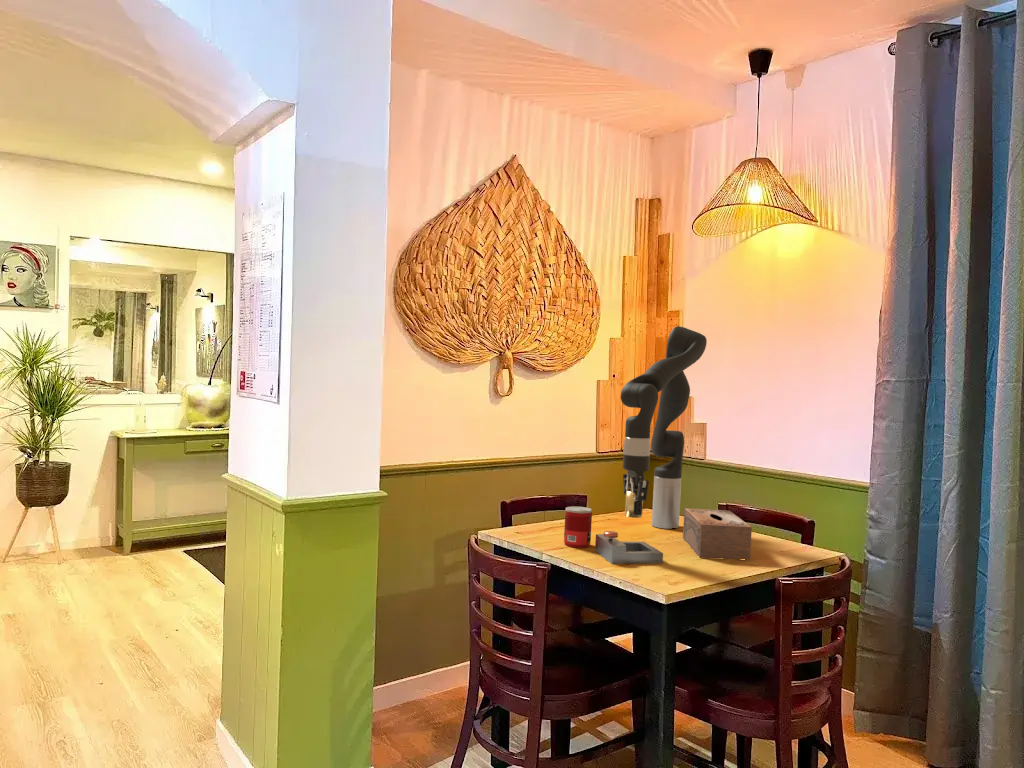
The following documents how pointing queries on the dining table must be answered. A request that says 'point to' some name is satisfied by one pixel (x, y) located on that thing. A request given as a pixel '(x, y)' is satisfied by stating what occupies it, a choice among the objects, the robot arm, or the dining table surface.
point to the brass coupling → (630, 505)
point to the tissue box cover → (717, 534)
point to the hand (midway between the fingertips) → (633, 512)
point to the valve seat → (625, 550)
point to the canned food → (577, 527)
